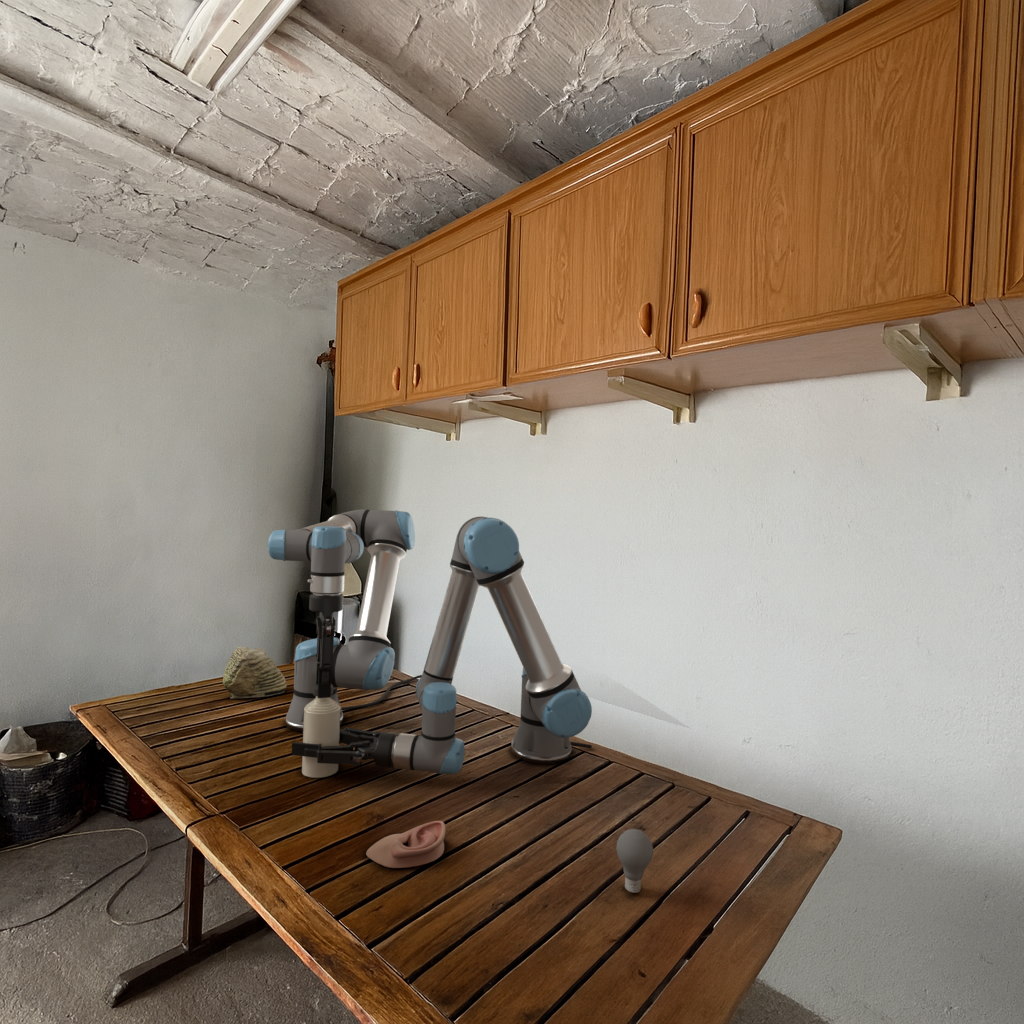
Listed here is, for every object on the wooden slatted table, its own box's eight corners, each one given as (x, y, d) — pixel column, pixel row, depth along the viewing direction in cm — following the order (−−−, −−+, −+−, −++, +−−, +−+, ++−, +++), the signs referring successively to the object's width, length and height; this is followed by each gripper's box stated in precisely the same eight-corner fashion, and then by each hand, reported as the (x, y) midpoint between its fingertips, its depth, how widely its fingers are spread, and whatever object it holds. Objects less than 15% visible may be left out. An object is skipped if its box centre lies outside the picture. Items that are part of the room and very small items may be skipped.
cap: (312, 691, 148) (313, 684, 148) (332, 690, 149) (332, 683, 149) (313, 697, 143) (313, 689, 143) (333, 696, 145) (333, 688, 145)
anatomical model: (359, 840, 110) (385, 809, 121) (358, 862, 110) (384, 829, 121) (431, 852, 107) (451, 819, 119) (431, 875, 107) (451, 840, 119)
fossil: (218, 695, 195) (220, 647, 195) (278, 685, 208) (279, 640, 207) (228, 703, 189) (230, 653, 188) (289, 692, 201) (290, 645, 201)
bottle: (345, 768, 148) (348, 687, 148) (320, 780, 141) (323, 696, 141) (319, 760, 152) (322, 681, 152) (293, 772, 145) (297, 689, 145)
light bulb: (610, 879, 108) (613, 822, 108) (644, 879, 109) (647, 822, 109) (619, 902, 102) (622, 840, 102) (655, 901, 103) (658, 840, 103)
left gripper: (307, 588, 152) (303, 684, 153) (312, 599, 136) (308, 707, 137) (339, 587, 155) (335, 682, 156) (348, 599, 139) (344, 704, 140)
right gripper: (379, 787, 134) (278, 776, 137) (409, 749, 154) (320, 740, 158) (380, 752, 134) (279, 741, 137) (410, 718, 154) (322, 710, 157)
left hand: (322, 693), depth 146 cm, fingers closed on cap, 4 cm apart
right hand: (301, 741), depth 147 cm, fingers closed on bottle, 8 cm apart
